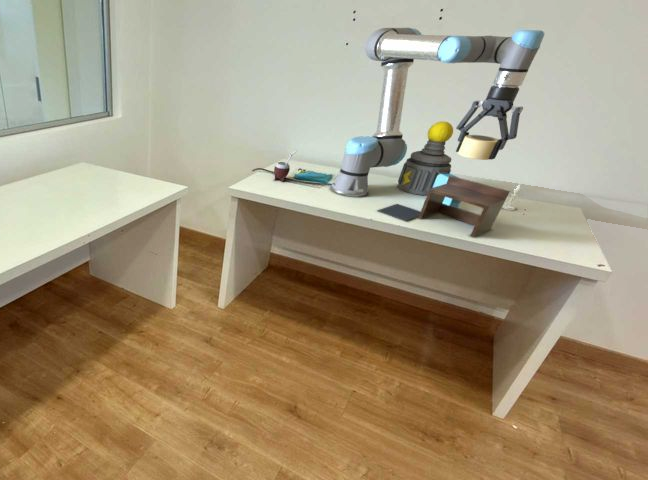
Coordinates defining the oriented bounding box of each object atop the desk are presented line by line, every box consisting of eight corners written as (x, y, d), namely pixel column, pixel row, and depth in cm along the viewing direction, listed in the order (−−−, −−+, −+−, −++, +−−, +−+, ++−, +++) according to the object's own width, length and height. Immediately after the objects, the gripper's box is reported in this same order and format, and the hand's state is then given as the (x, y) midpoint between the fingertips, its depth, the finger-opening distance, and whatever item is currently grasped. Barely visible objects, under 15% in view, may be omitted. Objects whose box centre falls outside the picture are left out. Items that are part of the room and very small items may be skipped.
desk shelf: (418, 217, 160) (432, 181, 152) (435, 211, 166) (450, 175, 158) (473, 237, 146) (493, 197, 138) (490, 229, 152) (510, 191, 144)
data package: (457, 210, 168) (469, 181, 161) (447, 210, 167) (459, 182, 161) (436, 199, 178) (448, 172, 171) (427, 199, 177) (438, 172, 171)
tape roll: (452, 154, 145) (460, 136, 141) (466, 150, 149) (473, 133, 146) (483, 161, 138) (492, 142, 134) (496, 157, 142) (505, 139, 139)
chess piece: (512, 206, 172) (524, 183, 166) (516, 210, 168) (529, 187, 162) (498, 204, 173) (510, 182, 168) (502, 209, 169) (514, 185, 164)
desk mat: (377, 211, 166) (377, 210, 166) (397, 204, 172) (397, 203, 172) (406, 221, 157) (406, 220, 157) (425, 214, 164) (426, 213, 163)
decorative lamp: (386, 184, 194) (409, 118, 178) (418, 181, 199) (442, 116, 182) (418, 198, 179) (446, 127, 163) (452, 194, 183) (482, 125, 167)
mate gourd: (269, 178, 200) (275, 147, 192) (283, 176, 202) (289, 146, 194) (278, 183, 194) (284, 151, 186) (292, 181, 196) (298, 150, 188)
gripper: (462, 82, 138) (436, 148, 150) (543, 91, 122) (506, 165, 134) (473, 81, 141) (446, 146, 153) (553, 89, 125) (516, 161, 137)
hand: (474, 154), depth 143 cm, fingers closed on tape roll, 10 cm apart
